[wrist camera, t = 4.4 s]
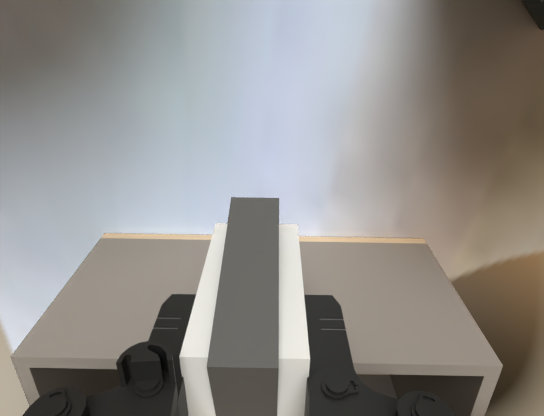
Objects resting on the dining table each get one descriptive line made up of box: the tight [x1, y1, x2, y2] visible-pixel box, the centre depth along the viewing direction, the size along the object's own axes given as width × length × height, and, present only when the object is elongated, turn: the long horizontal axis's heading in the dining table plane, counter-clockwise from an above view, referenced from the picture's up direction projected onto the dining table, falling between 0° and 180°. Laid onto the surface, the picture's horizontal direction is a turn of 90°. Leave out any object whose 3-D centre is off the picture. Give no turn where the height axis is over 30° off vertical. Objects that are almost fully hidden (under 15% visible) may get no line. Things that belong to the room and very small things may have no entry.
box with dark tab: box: [207, 197, 279, 416], centre depth 17 cm, size 21×18×6 cm
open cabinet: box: [11, 233, 503, 416], centre depth 24 cm, size 20×12×10 cm, turn 89°
